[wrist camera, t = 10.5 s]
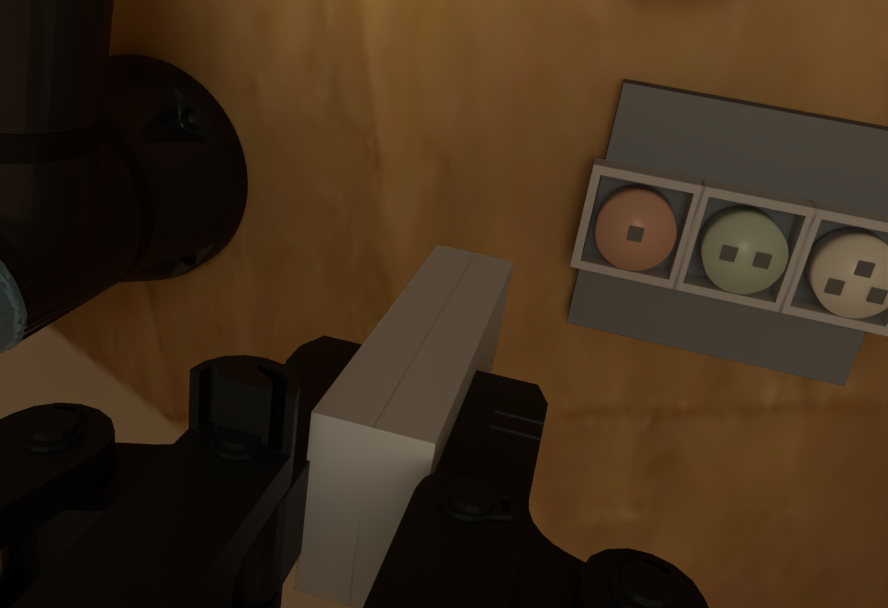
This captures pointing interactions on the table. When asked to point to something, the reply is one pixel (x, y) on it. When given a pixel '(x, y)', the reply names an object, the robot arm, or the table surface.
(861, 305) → the cream button
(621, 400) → the table surface
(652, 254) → the terracotta button
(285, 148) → the table surface
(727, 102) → the panel
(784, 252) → the sage button
